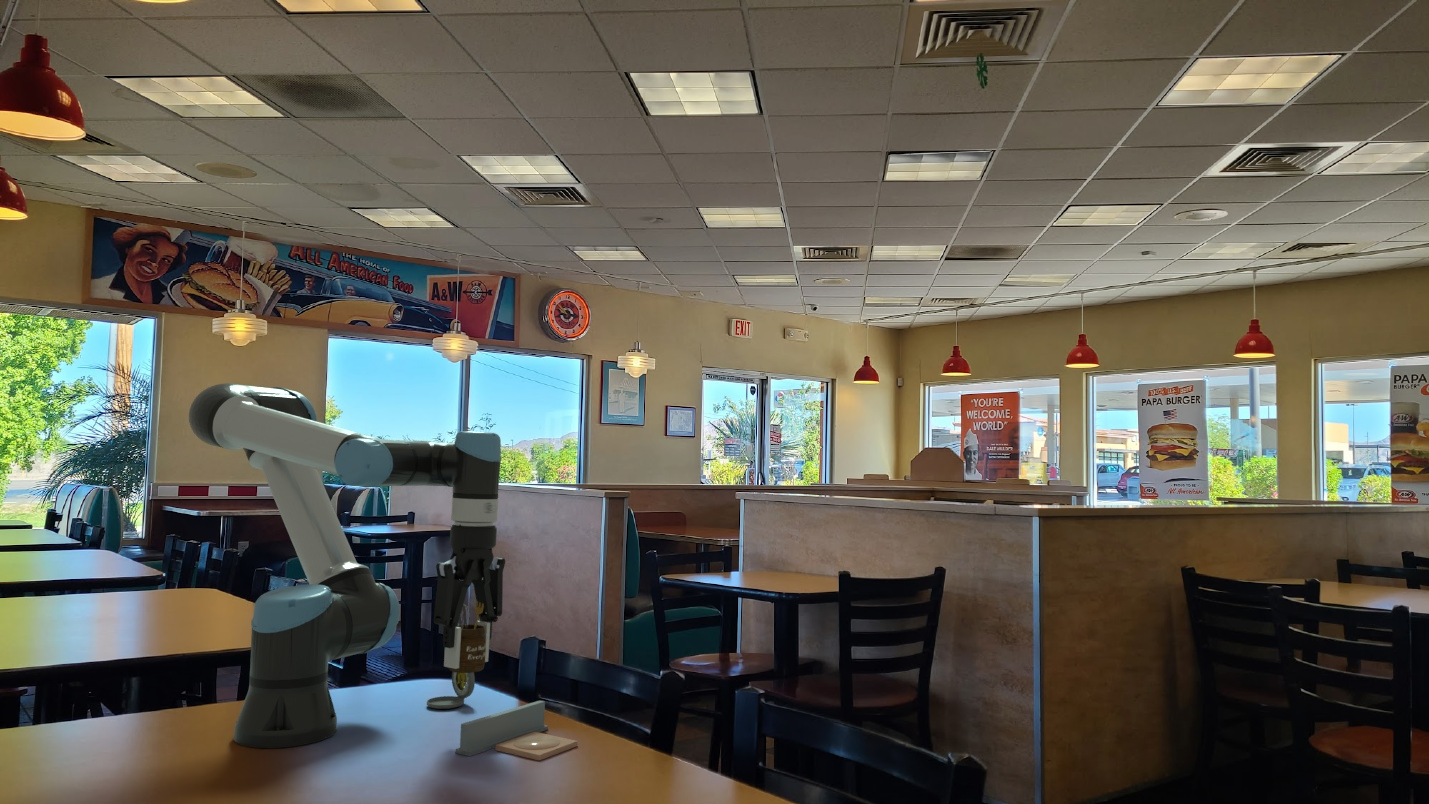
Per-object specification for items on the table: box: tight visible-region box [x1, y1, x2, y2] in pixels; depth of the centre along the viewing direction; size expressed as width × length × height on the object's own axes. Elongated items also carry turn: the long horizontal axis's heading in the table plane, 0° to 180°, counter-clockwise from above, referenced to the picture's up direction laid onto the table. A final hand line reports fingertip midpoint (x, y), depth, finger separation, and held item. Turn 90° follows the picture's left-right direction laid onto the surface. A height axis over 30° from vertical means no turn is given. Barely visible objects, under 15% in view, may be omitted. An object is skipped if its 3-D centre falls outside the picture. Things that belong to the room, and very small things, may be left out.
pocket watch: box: [426, 671, 476, 710], centre depth 174 cm, size 8×8×10 cm
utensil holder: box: [448, 601, 486, 673], centre depth 157 cm, size 6×6×12 cm
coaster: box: [495, 732, 578, 761], centre depth 149 cm, size 9×9×1 cm
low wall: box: [455, 700, 549, 757], centre depth 153 cm, size 3×18×4 cm, turn 149°
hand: (466, 663), depth 156 cm, fingers closed on utensil holder, 6 cm apart
